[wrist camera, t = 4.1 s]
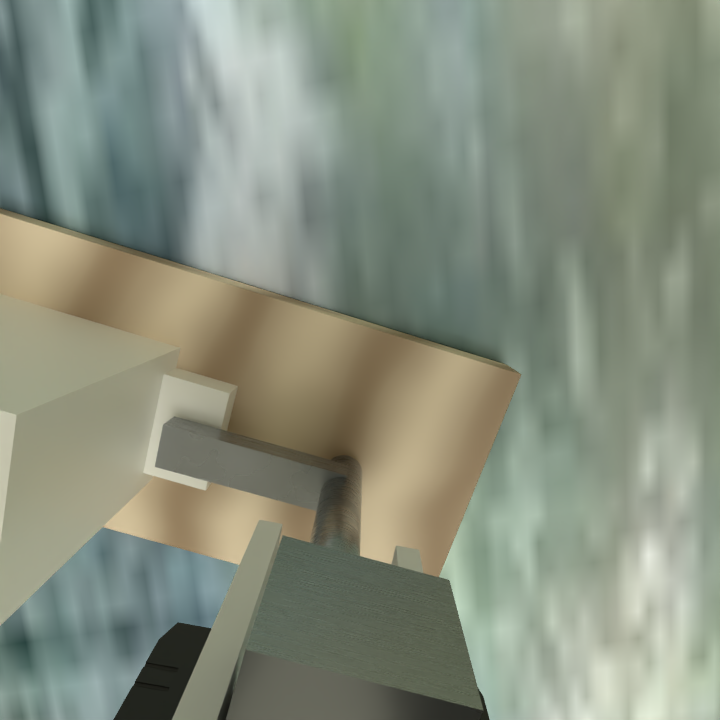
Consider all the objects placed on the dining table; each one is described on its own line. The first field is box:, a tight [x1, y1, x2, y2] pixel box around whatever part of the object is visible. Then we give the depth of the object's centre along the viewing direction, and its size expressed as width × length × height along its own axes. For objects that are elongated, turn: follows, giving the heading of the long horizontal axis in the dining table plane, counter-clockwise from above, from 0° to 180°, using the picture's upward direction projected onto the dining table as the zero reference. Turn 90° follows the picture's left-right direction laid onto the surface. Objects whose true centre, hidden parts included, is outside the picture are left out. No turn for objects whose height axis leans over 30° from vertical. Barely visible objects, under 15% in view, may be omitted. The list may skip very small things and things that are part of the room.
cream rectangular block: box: [0, 294, 238, 625], centre depth 15 cm, size 13×7×9 cm, turn 73°
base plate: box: [0, 208, 521, 577], centre depth 21 cm, size 26×14×2 cm, turn 73°
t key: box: [155, 416, 484, 720], centre depth 13 cm, size 10×8×13 cm
